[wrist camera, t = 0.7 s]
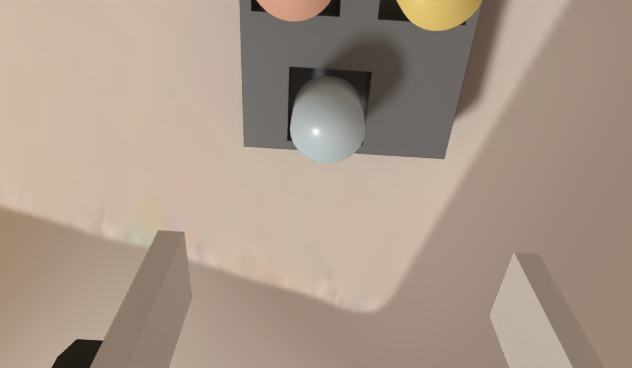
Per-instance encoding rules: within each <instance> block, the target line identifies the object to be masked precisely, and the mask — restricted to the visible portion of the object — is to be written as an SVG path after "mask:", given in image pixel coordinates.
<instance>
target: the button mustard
mask: <svg viewBox="0 0 632 368" xmlns="http://www.w3.org/2000/svg"><path fill="white" fill-rule="evenodd" d="M396 1H397V3H398V4H399V6H400V7H401V9H402V11H403V12H404V14H405V15H406V17H407V18H408V19H409V20H410V21H411V22H412V23H413V24H415V25H417V26H418V27H421V28H423V29H426V30H431V31H442V30H447V29H451V28H453V27H456V26H458V25H460V24H462V23H463V22H464V21H466V20H467V19H468V18H469V17H471V16H472V15H473V14H474V12H475V11H476V10H477V9H478V7H479V6H480V4H481V2H482V1H483V0H396Z"/></svg>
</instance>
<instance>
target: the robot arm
mask: <svg viewBox="0 0 632 368" xmlns="http://www.w3.org/2000/svg"><path fill="white" fill-rule="evenodd" d="M191 299H192V293H191V285H190V276H189V268H188V259H187V251H186V243H185V234H184V232H176V231H160V230H158V232H157V234H156V236H155V238H154V240H153V242H152V244H151V246H150V248H149V250H148V252H147V254H146V256H145V258H144V260H143V262H142V264H141V266H140V269H139V270H138V272H137V274H136V276H135V278H134V280H133V282H132V284H131V286H130V288H129V290H128V292H127V294H126V296H125V299H124V300H123V302H122V305H121V306H120V308H119V311H118V312H117V314H116V316H115V318H114V320H113V323H112V324H111V326H110V328H109V330H108V332H107V335H106V336H105V339H104V340H103V341H100V340H82V339H77V340H75V341H74V342H73V343H72V344H71V345H70V346H69V347H68V348H67V349H66V350H65V351H64V352H62V354H60V355H59V356H58V357H57V359H56V361H55V363H54V364H53V366H52V368H169V365H170V362H171V359H172V356H173V353H174V350H175V347H176V344H177V341H178V338H179V335H180V332H181V329H182V326H183V323H184V320H185V317H186V314H187V311H188V308H189V305H190V302H191ZM490 318H491V320H492V323H493V325H494V328H495V331H496V333H497V336H498V339H499V342H500V344H501V346H502V349H503V352H504V355H505V357H506V360H507V363H508V365H509V368H605V367H604V365H603V363H602V362H601V360H600V358H599V356H598V355H597V353H596V351H595V350H594V348H593V346H592V344H591V343H590V341H589V339H588V338H587V336H586V334H585V332H584V331H583V329H582V327H581V325H580V324H579V322H578V320H577V318H576V317H575V315H574V313H573V312H572V310H571V308H570V306H569V305H568V303H567V302H566V299H565V298H564V296H563V294H562V293H561V291H560V289H559V287H558V286H557V284H556V282H555V280H554V279H553V277H552V275H551V273H550V272H549V270H548V268H547V267H546V265H545V263H544V261H543V260H542V258H541V256H540V255H539V254H529V253H528V254H527V253H514V254H513V257H512V259H511V262H510V264H509V267H508V270H507V272H506V275H505V277H504V280H503V282H502V285H501V288H500V290H499V293H498V295H497V298H496V300H495V303H494V306H493V308H492V311H491V313H490Z"/></svg>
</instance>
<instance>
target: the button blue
mask: <svg viewBox="0 0 632 368" xmlns="http://www.w3.org/2000/svg"><path fill="white" fill-rule="evenodd" d="M290 133H291V138H292V141H293V143H294V145H295V147H296V148H297V149H298V150H299V152H300V153H302V154H303V155H304V156H306V157H307V158H309V159H311V160H313V161H316V162H321V163H335V162H339V161H342V160H344V159H346V158H348V157H350V156H351V155H353V154H354V153H355V152H356V151H357V150H358V149H359V147H360V146H361V144H362V142H363V139H364V136H365V121H364V114H363V108H362V102H361V98H360V95H359V93H358V91H357V90H356V89H355V87H354V86H353V85H352V84H351V83H349V82H348V81H346V80H345V79H342V78H340V77H337V76H330V75H326V76H319V77H316V78H313V79H311V80H310V81H308V82H307V83H305V84H304V85H303V86H302V87H301V88H300V90H299V91H298V93H297V95H296V97H295V101H294V106H293V112H292V118H291V125H290Z"/></svg>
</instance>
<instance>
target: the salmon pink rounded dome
mask: <svg viewBox="0 0 632 368" xmlns="http://www.w3.org/2000/svg"><path fill="white" fill-rule="evenodd" d="M257 1H258V3H259V4H260V5H261V6H262V7H263V8H264V9H265V10H266V11H267V12H268V13H270V14H271V15H273V16H275V17H277V18H279V19H282V20H285V21H303V20H307V19H310V18H312V17H314V16H316V15H317V14H319V13H320V12H321V11H323V10H324V9H325V8H326V6H327V5H328V4H329V2H330V1H331V0H257Z"/></svg>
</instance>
